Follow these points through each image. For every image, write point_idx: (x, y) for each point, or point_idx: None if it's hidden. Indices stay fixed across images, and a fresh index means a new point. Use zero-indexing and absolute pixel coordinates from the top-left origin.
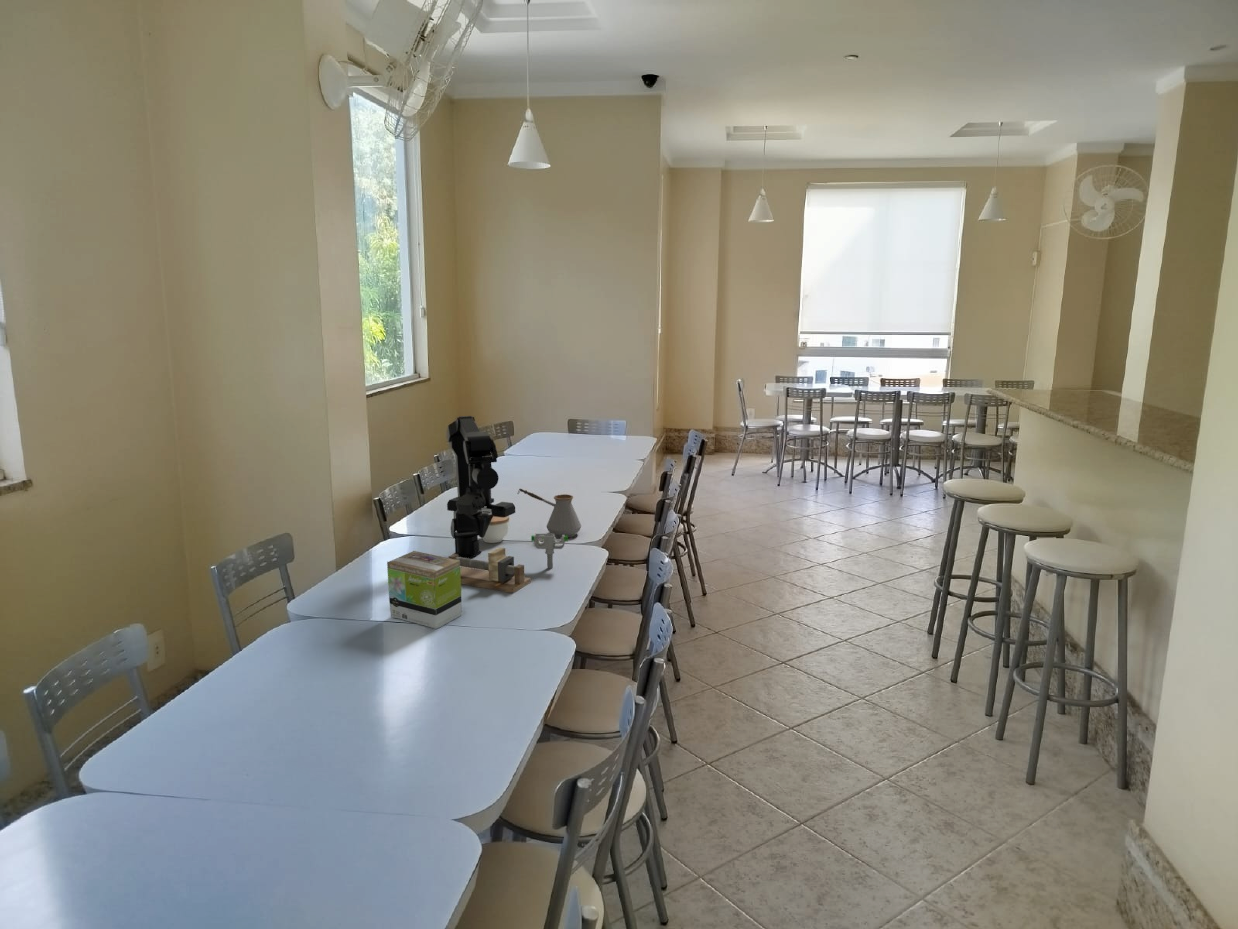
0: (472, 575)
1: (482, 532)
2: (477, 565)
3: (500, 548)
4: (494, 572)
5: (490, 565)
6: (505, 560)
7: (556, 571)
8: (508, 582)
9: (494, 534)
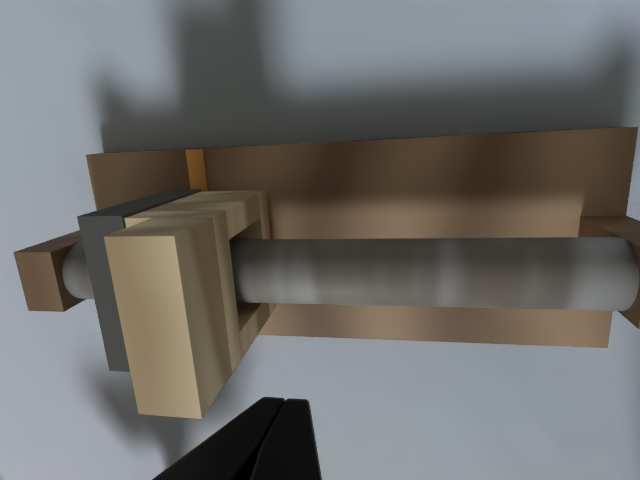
0: (433, 236)
1: (203, 445)
2: (373, 242)
3: (163, 388)
4: (201, 200)
5: (210, 208)
6: (99, 275)
7: (134, 475)
8: None
9: None
